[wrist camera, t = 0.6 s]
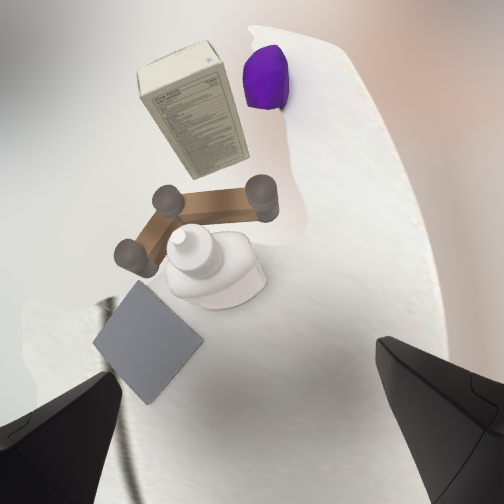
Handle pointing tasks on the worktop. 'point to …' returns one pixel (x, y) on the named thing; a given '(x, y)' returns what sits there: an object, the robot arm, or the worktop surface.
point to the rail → (195, 218)
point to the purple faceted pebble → (266, 78)
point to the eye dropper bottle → (212, 267)
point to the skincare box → (194, 108)
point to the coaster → (146, 342)
